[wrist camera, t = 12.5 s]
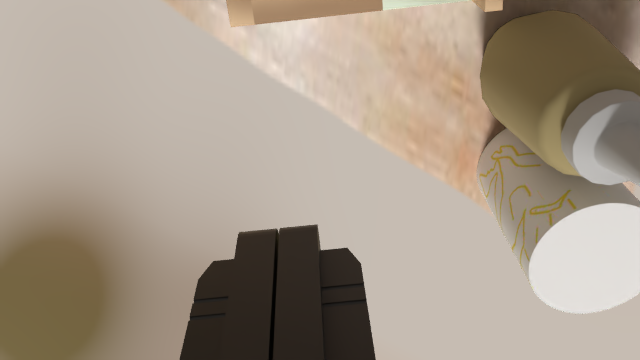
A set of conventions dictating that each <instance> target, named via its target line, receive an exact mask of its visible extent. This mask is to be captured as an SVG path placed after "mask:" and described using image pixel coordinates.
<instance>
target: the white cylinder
mask: <svg viewBox="0 0 640 360" xmlns="http://www.w3.org/2000/svg"><path fill="white" fill-rule="evenodd" d="M477 182H478V186H479V188H480V190H481V192H482V194H483V196H484V198H485V200H486V202H487V204H488V206H489V208H490V209H491V211H492V213H493V215H494V217H495V219H496V221H497V223H498V224H499V226H500V228H501V230H502V232H503V234H504V236H505V238H506V240H507V241H508V243H509V245H510V247H511V249H512V251H513V253H514V255H515V257H516V258H517V260H518V262H519V264H520V266H521V268H522V270H523V272H524V274H525V276H526V277H527V279H528V281H529V283H530V285H531V287H532V289H533V291H534V292H535V293H536V295H537V296H538V297H539V298H540V299H541V300H542V301H543V302H544V303H546V304H547V305H549V306H550V307H552V308H555V309H557V310H560V311H563V312H569V313H582V314H583V313H594V312H599V311H603V310H607V309H610V308H613V307H616V306H618V305H620V304H622V303H624V302H626V301H628V300H630V299H631V298H633V297H634V296H636V295H637V294H638V293H640V201H639V200H638V199H637V198H636V197H635V196H634V195H633V194H632V193H631V192H630V191H629V190H628V189H627V188H626V187H625V186H624V185H623V184H622V183H618V184H613V185H604V184H597V183H592V182H590V181H589V180H587V179H586V178H584V177H581V176H574V175H567V174H563V173H561V172H560V171H558V170H556V169H555V168H553V167H551V166H550V165H548V164H547V163H546V162H544V161H543V160H542V159H541V158H540V157H539V156H538V155H537V154H535V153H534V152H533V151H532V150H531V149H530V148H529V147H528V146H526V145H525V144H524V143H523V142H522V141H521V140H520V139H519V138H518V137H516V136H515V135H514V134H513V133H512V132H511V131H510V130H509V129H507V128H506V129H504V130H503V131H501V132H500V133H499V134H497V135H496V136H495V137H494V138H493V139H492V140H491V141H490V142H489V143H488V145H487V146H486V148H485V149H484V151H483V153H482V154H481V157H480V159H479V162H478V167H477Z"/></svg>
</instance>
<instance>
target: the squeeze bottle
mask: <svg viewBox="0 0 640 360" xmlns="http://www.w3.org/2000/svg"><path fill="white" fill-rule="evenodd" d="M480 80H481V90H482V98H483V100H484V101H485V103H486V105H487V106H488V108H489V110H490V111H491V113H492V114H493V116H494V117H495V118H496V119H497V120H499V121H500V122H501V123H502V124H503V125H504V126H505V127H506V128H507V129H509V130H510V131H511V132H512V133H513V134H514V135H515V136H516V137H518V138H519V139H520V140H521V141H522V142H523V143H524V144H525V145H526V146H528V147H529V148H530V149H531V150H532V151H533V152H534V153H535V154H537V155H538V156H539V157H540V158H541V159H542V160H543V161H544V162H546V163H547V164H548V165H550V166H551V167H553V168H555V169H556V170H558V171H560V172H561V173H563V174H567V175H574V176H581V177H584V178H586V179H587V180H589V181H590V182H592V183H597V184H604V185H613V184H618V183H623V182H627V181H631V182H632V183H634V184H636V185H638V186H640V70H639V69H638V68H637V67H636V66H635V65H634V64H632V63H631V62H630V61H629V60H628V59H627V58H626V57H625V56H624V55H623V54H622V53H621V52H620V51H619V50H618V49H617V48H616V47H615V46H614V45H613V44H612V43H611V42H609V41H608V40H607V39H606V38H605V37H604V36H603V35H602V34H601V33H600V32H599V31H598V30H597V29H596V28H595V27H593V26H592V25H591V24H589V23H588V22H587V21H585V20H584V19H582V18H581V17H580V16H578V15H577V14H573V13H567V12H561V11H555V10H550V11H545V12H540V13H536V14H531V15H526V16H522V17H518V18H514V19H512V20H511V21H509V22H508V23H506V24H505V25H503V26H501V27H500V28H498V30H497V31H496V32H495V34H494V35H493V36H492V38H491V39H490V40H489V42H488V43H487V47H486V50H485V53H484V56H483V60H482V67H481V73H480Z"/></svg>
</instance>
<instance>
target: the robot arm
mask: <svg viewBox="0 0 640 360" xmlns="http://www.w3.org/2000/svg"><path fill="white" fill-rule="evenodd" d="M180 360H376V359H375V353H374V346H373V339H372V333H371V326H370V320H369V313H368V307H367V302H366V294H365V288H364V281H363V274H362V268H361V263H360V262H359V261H358V260H357V259H356V257H355V256H354V255H353V254H352V253H351V252H350V251H349V249H348V248H341V249H331V250H321V249H320V241H319V232H318V226H317V225H307V226H298V227H287V228H280V230H279V233H278V230H277V229H269V230H258V231H248V232H240V233H239V234H238V239H237V245H236V252H235V258H234V259H231V260H221V261H213V262H212V263H211V265H210V266H209V267H208V268H207V270H206V271H205V272H204V273H203V274H202V276H201V277H200V278H199V280H198V284H197V288H196V292H195V296H194V304H192V309H191V313H190V321H189V322H188V326H187V330H186V335H185V339H184V343H183V348H182V352H181V356H180Z"/></svg>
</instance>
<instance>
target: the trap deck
mask: <svg viewBox="0 0 640 360" xmlns="http://www.w3.org/2000/svg"><path fill="white" fill-rule="evenodd" d="M462 1H471V0H226V2H227V8H228V14H229V19H230V25H231V27H237V26H246V25H255V24H264V23H273V22H282V21H291V20H300V19H309V18H318V17H327V16H336V15H345V14H354V13H363V12H372V11H381V10H390V9H399V8H408V7H417V6H426V5H435V4H444V3H453V2H462ZM472 1H473V2H474V3H475V4H476V5H478V6H479V7H480V8H481V9H482V10H483V11H484V12H489V11H498V10H503V0H472Z"/></svg>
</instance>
